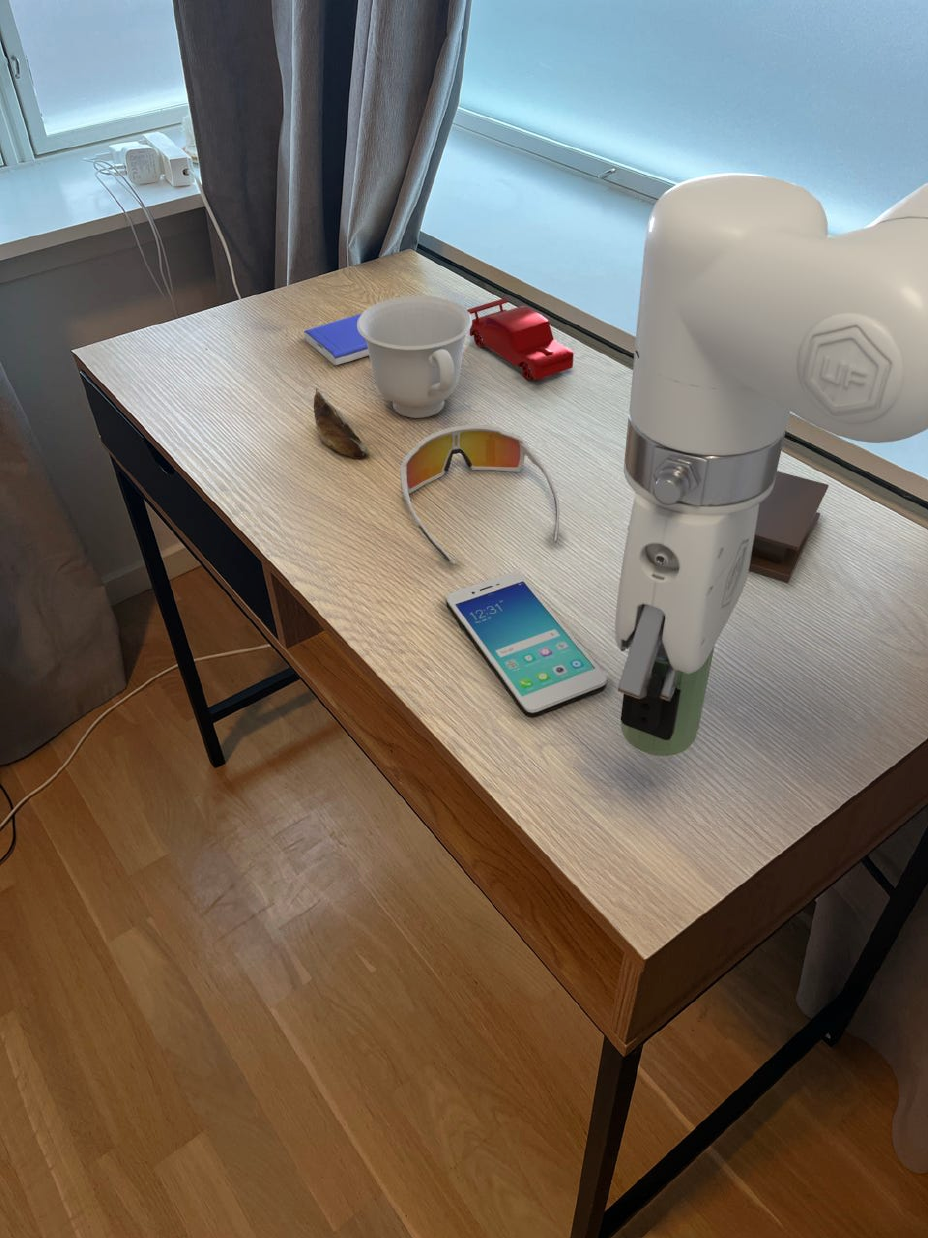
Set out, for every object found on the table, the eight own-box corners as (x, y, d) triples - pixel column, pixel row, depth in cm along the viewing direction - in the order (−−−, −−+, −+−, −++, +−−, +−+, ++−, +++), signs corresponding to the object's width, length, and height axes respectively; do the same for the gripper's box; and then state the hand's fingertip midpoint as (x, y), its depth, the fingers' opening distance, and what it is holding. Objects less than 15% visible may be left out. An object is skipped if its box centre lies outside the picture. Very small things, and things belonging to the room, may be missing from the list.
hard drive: (391, 302, 123) (303, 328, 118) (425, 326, 117) (334, 354, 113) (391, 314, 124) (305, 340, 119) (425, 338, 119) (336, 367, 114)
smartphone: (527, 713, 72) (441, 594, 82) (527, 720, 73) (442, 602, 83) (611, 680, 75) (518, 569, 85) (610, 687, 75) (518, 576, 85)
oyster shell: (357, 480, 104) (305, 407, 105) (384, 458, 103) (331, 385, 104) (338, 473, 98) (283, 395, 99) (367, 450, 98) (311, 372, 99)
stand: (818, 519, 91) (829, 484, 88) (788, 583, 84) (798, 547, 82) (735, 496, 94) (743, 461, 91) (700, 555, 87) (707, 520, 84)
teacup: (397, 458, 99) (391, 370, 93) (349, 391, 109) (340, 307, 103) (502, 431, 103) (504, 344, 96) (447, 369, 113) (444, 286, 106)
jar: (707, 715, 63) (725, 624, 57) (681, 767, 60) (698, 675, 54) (637, 691, 64) (649, 600, 59) (609, 739, 61) (618, 648, 56)
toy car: (466, 341, 118) (466, 302, 115) (503, 328, 120) (504, 290, 117) (535, 388, 109) (536, 348, 106) (573, 374, 112) (576, 334, 108)
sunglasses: (518, 451, 100) (522, 412, 96) (574, 553, 91) (581, 515, 87) (386, 477, 97) (384, 438, 93) (430, 586, 88) (430, 548, 84)
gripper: (720, 565, 41) (672, 822, 53) (821, 388, 52) (762, 635, 64) (560, 518, 44) (549, 772, 56) (687, 360, 55) (655, 601, 67)
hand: (663, 697), depth 60 cm, fingers closed on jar, 4 cm apart
